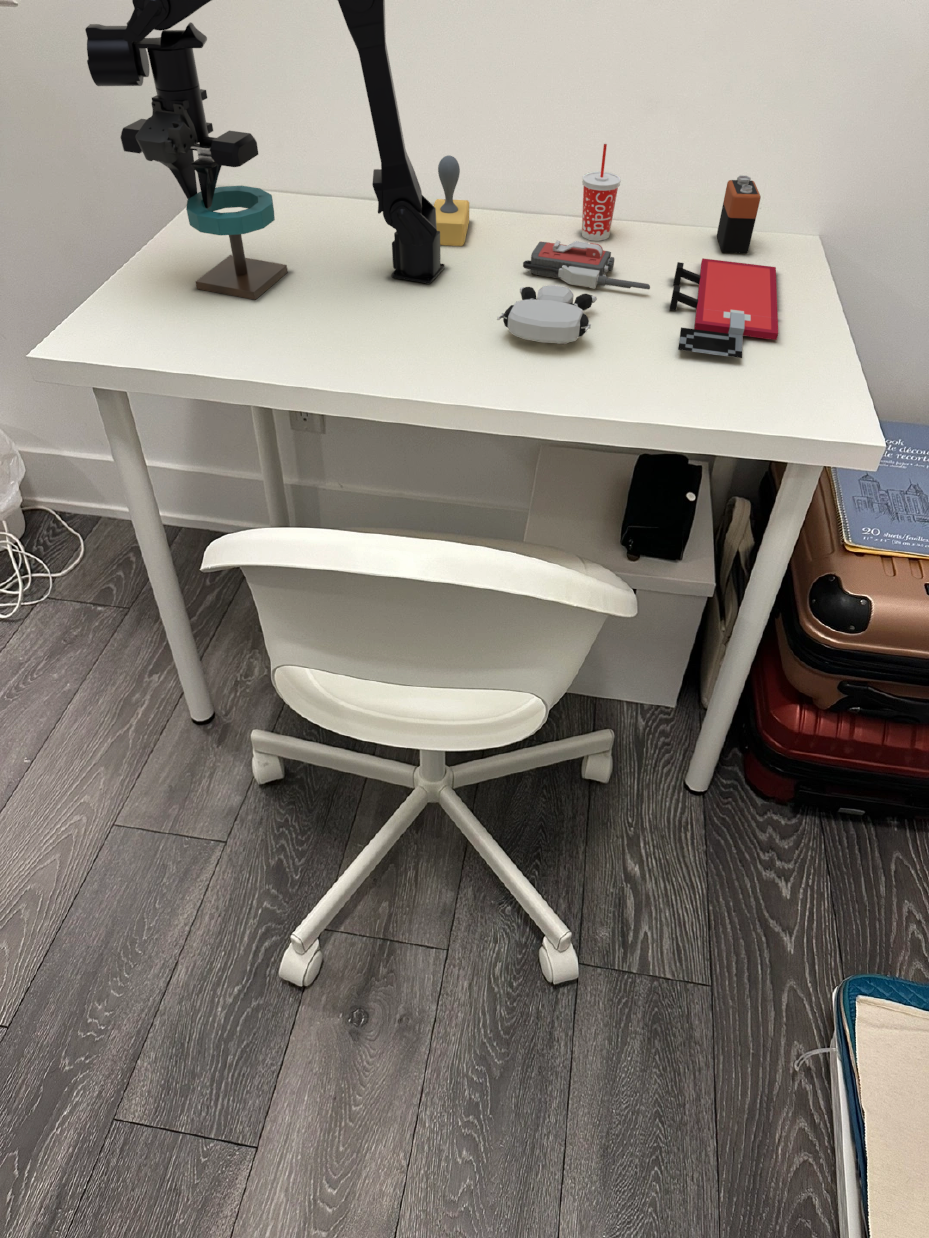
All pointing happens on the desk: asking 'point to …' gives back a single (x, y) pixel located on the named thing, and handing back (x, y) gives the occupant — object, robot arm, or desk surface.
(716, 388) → the desk surface
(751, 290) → the red board with handle
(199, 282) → the stand
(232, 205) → the ring
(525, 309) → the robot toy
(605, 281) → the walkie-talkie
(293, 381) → the desk surface
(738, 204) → the battery
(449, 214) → the rubber stamp
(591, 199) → the beverage cup
